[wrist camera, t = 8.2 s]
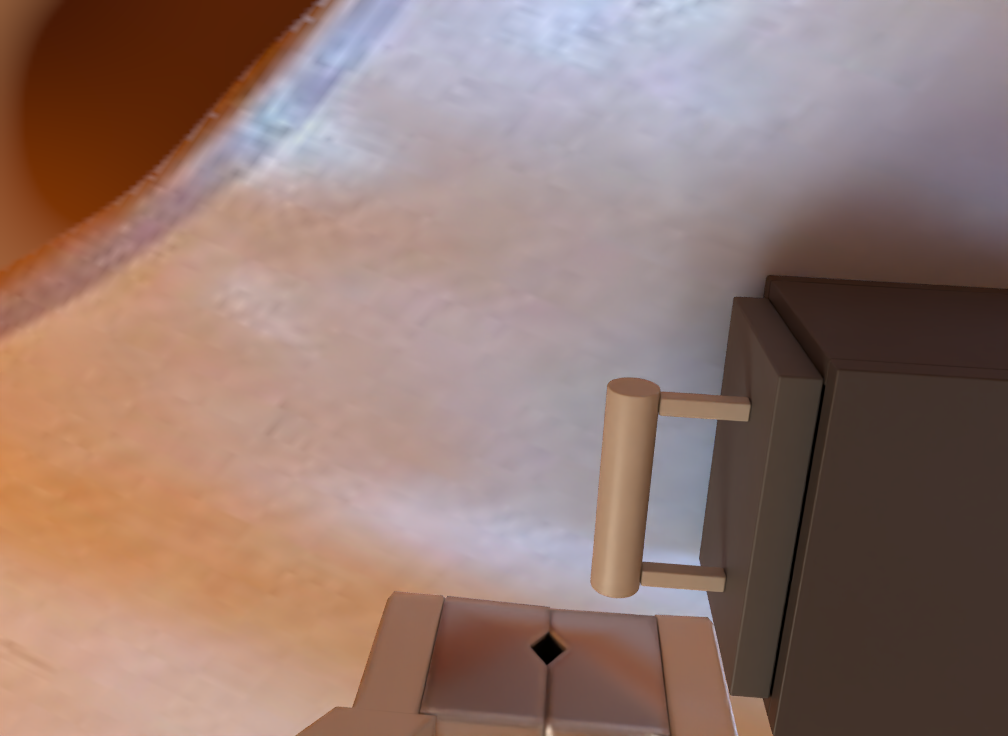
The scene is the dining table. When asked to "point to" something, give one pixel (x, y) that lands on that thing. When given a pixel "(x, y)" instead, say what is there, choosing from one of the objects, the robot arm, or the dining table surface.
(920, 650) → the cabinet
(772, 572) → the drawer
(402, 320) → the dining table surface
